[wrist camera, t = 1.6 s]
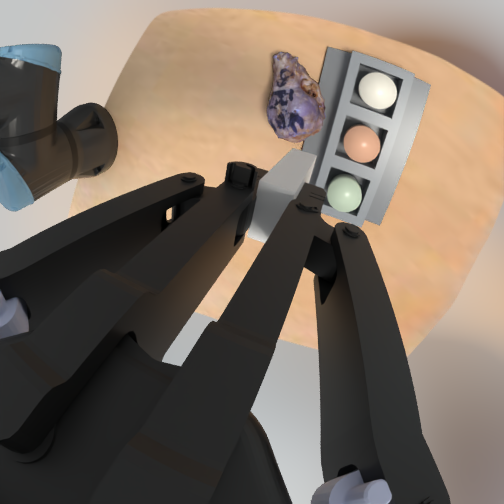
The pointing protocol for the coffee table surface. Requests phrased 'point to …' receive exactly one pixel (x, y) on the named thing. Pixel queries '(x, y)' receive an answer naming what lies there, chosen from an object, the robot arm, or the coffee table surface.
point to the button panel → (379, 120)
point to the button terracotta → (361, 143)
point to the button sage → (344, 193)
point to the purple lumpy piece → (294, 101)
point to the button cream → (377, 90)
